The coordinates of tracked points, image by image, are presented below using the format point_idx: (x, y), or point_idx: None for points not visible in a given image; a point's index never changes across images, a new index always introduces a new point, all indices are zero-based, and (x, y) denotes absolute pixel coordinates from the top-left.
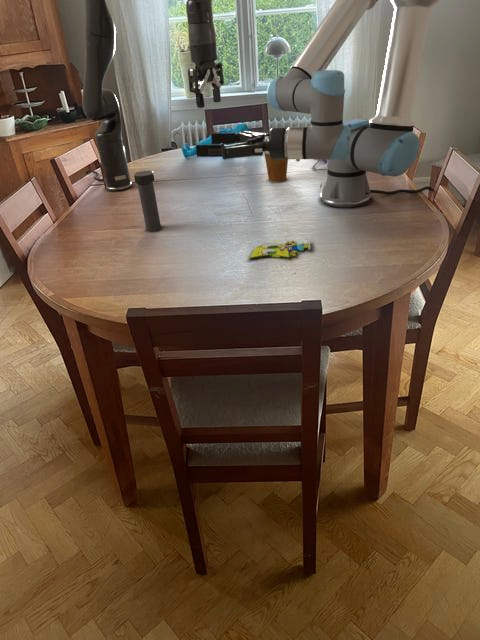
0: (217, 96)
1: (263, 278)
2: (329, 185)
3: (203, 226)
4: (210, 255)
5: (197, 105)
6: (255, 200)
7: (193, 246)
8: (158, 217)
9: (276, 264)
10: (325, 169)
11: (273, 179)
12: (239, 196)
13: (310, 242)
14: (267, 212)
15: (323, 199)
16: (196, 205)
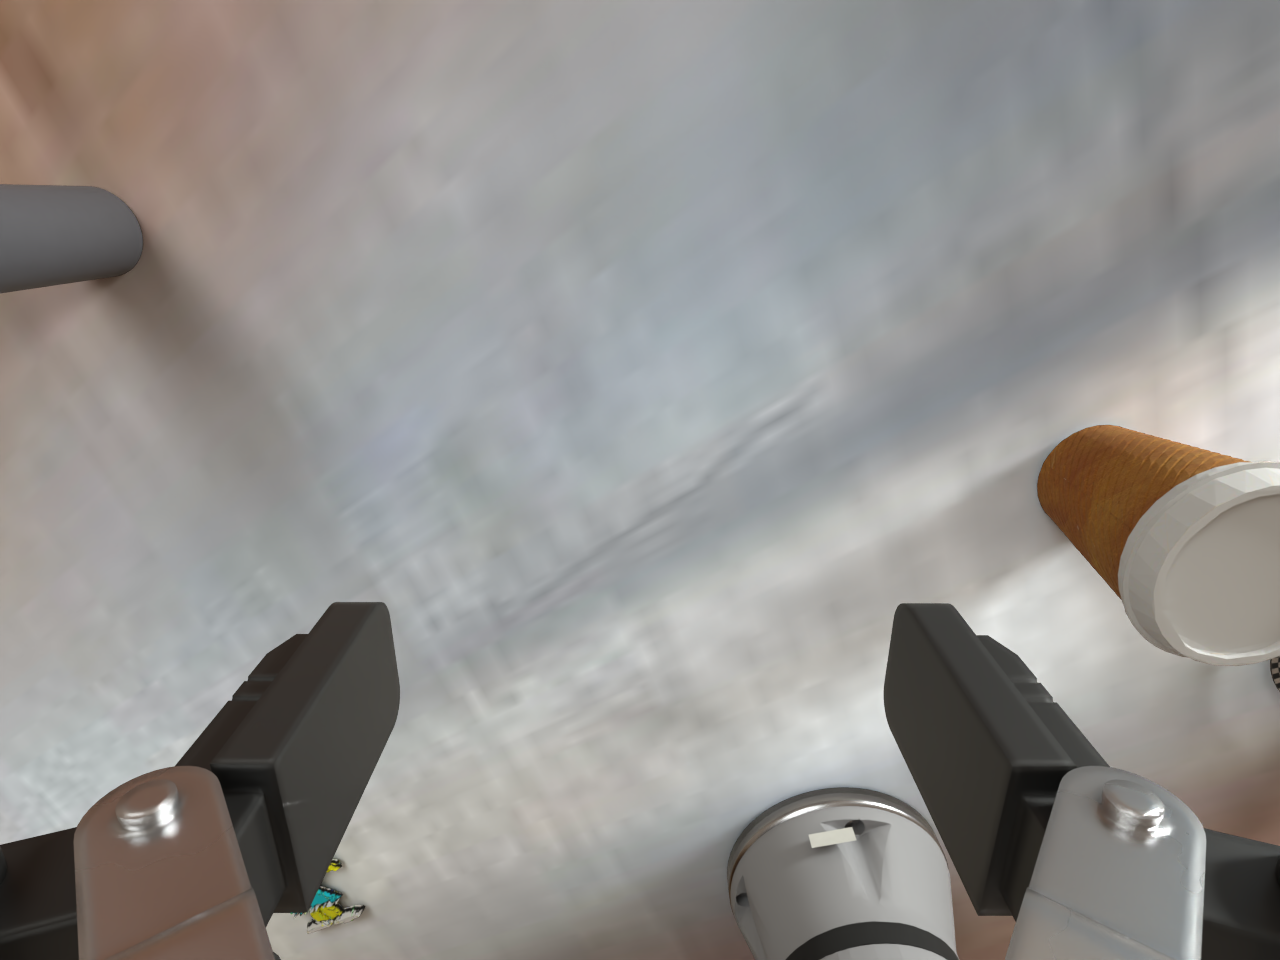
0: (923, 750)
1: None
2: (771, 911)
3: (282, 474)
4: (74, 668)
5: (292, 649)
6: (710, 528)
7: (87, 562)
8: (72, 281)
9: None
10: (1274, 669)
11: (1043, 485)
12: (745, 411)
13: (347, 921)
14: (576, 657)
15: (757, 833)
16: (515, 240)
